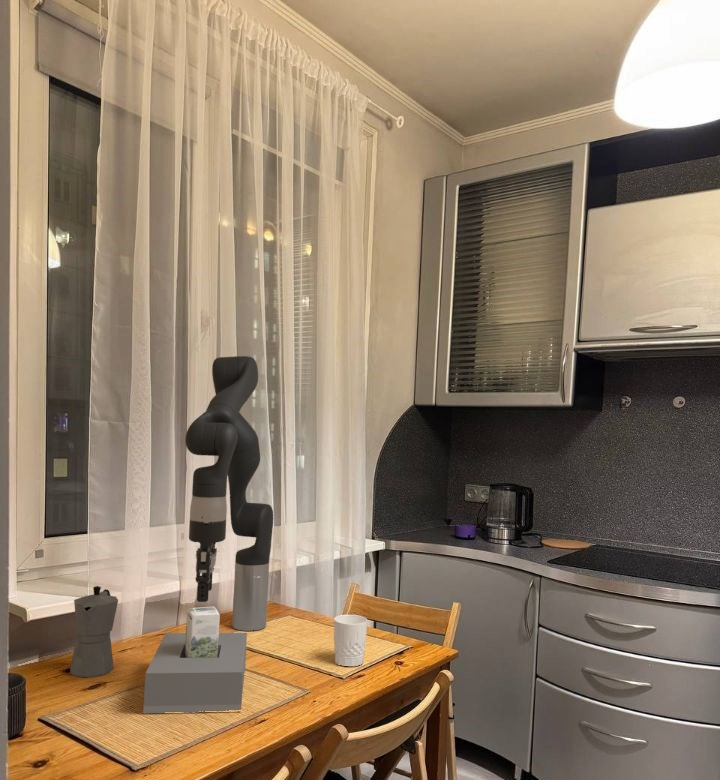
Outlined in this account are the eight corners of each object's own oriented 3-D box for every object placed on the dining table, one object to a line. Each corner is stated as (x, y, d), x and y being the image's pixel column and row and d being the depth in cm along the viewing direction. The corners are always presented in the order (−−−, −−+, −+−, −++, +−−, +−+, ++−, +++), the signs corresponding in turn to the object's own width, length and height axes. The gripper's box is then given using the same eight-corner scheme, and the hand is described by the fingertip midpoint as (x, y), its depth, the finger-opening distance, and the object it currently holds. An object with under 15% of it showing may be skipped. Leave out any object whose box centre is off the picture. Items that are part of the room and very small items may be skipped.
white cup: (339, 670, 148) (341, 625, 149) (327, 658, 156) (329, 615, 156) (371, 666, 152) (372, 622, 152) (357, 655, 159) (359, 613, 159)
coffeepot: (104, 681, 137) (110, 594, 138) (58, 681, 136) (64, 593, 137) (124, 656, 152) (129, 577, 153) (83, 655, 151) (88, 576, 152)
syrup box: (210, 674, 139) (213, 604, 140) (216, 684, 134) (220, 612, 134) (182, 677, 137) (186, 607, 137) (188, 688, 131) (191, 614, 132)
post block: (163, 667, 146) (165, 633, 146) (245, 666, 148) (246, 632, 149) (143, 714, 122) (145, 673, 123) (240, 712, 125) (242, 672, 125)
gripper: (193, 512, 144) (190, 587, 143) (185, 522, 130) (181, 605, 129) (228, 513, 145) (224, 587, 144) (224, 523, 131) (220, 605, 130)
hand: (204, 595), depth 136 cm, fingers open, 8 cm apart
